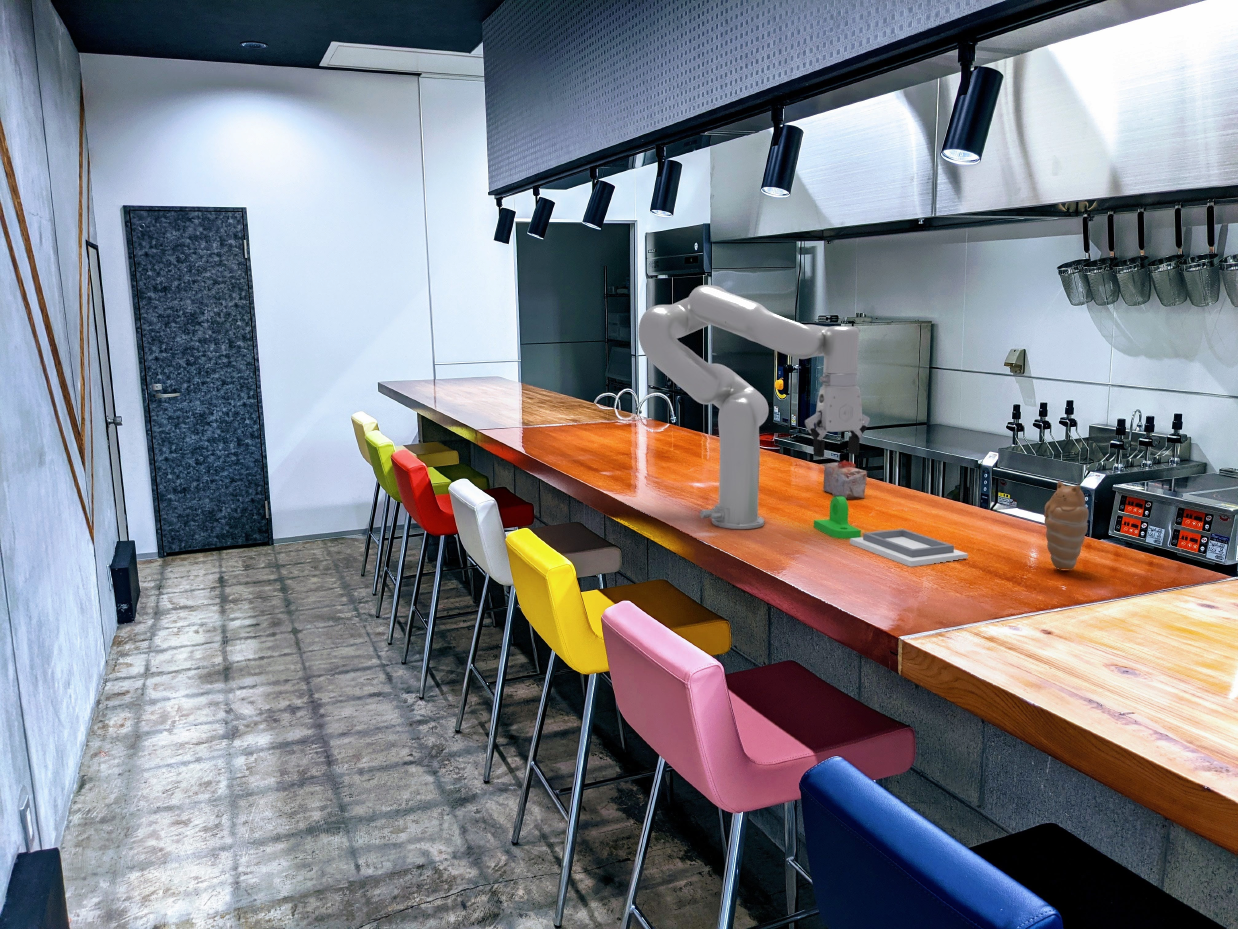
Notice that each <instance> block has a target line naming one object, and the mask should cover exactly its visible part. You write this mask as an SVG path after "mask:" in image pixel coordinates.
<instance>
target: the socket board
mask: <svg viewBox="0 0 1238 929" xmlns="http://www.w3.org/2000/svg"><path fill="white" fill-rule="evenodd" d="M849 544H850V545H852V546H854V547H858V548H860V549H863V550H866V551H867V552H870V553H873V554H876V555H878V556H881V557H883V558H885V559H889V560H891V561H894V562H897V563H899V564H902V565H905V566H907V567H910V568H912V567H919V566H920V567H921V566H925V565H926V566H928V565H933V564H934V563H936V564H941V563H940V562H943V563H947V562H946V561H951V562H954V561H953V560H958V559H963V558H968V557H969V554H968V553H966V552H963V551H961V550H959V549H958V550H957V549H955V545H954V544H952V543H951V544H950V543H948V542H944V541H941V540H938V539H935V538H933V537H930V536H926V535H923V534H920V533H917V532H914V531H912V530H908V529H906V528H899V529H898V528H897V529H891V530H890V529H889V530H888V529H887V530H876V531H872V532H864V533H863V535H862V536H861V537H859V538H850V539H849Z"/></svg>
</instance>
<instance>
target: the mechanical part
mask: <svg viewBox="0 0 1238 929" xmlns="http://www.w3.org/2000/svg"><path fill="white" fill-rule="evenodd" d="M847 500H848V499H846V498H845V497H843V496H842V497H840V496H832V498H831V500H830V502H829V517H828V518H829V519H827V518H826V519H813V528H814V529H816V530H818V531H820V532H821V533H824V534H826V535H828V536H829V537H832V538H835V539H841V540H850V538H859V537H862V530H861V529H860V528H856V527H855V526H854V525H851V524H850V523H849V503H848V501H847Z"/></svg>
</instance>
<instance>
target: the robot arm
mask: <svg viewBox="0 0 1238 929" xmlns="http://www.w3.org/2000/svg"><path fill="white" fill-rule="evenodd" d="M710 325H712V326H713V327H717V328H718V329H722V330H724V331H727V332H730V333H732V334H735V335H737V336H740V337H742V338H745V339H747V340H748V341H751V342H755V343H758V344H760V345H761V346H764V347H765V348H766V347H767V348H769V349H771V350H774V351H777V352H779V353H781V354H784V355H786V356H790V357H793V358H796V359H800V360H805V359H809V358H815V357H823V370H822V373H823V374H822V376H820V377H819V379H818V380H819V382H820V383H822V386H820V387H819V391H818V392H819V393H818V395H817V396H818V397H817V402H816V409H815V410H816V411H815V413H814V414H813V415H812V416H810V417H808V418H807V419H805V420H804V425H805V428H806V429H807V432H808V434H809V435H810V436H811V439H813V448H812V452H813V456H814V457H817V458H824V456H825V447H826V445H825V442H826V441H825V439H823V438H825V436H826V435H827V433H828V432H830V433H834V432H848V433H849V434H850V435H849V436H848V444H847V448H848V449H847V452H848V454H850V455H855V456H859V454H860V453H859V452H860V440H861V438H862V437H863V434H865V431H867V429H868V428H867V426H868V425H869V423H870V420H871V418H870V417H869V416H867V415H866V414H864V413H863V405H862V402H863V401H862V394H861V389H860V387H859V386H857V382H858V361H859V345H860V332H859V331H860V330H859V329H858V328H857V327H855V326H851V325H850V326H849V325H843V326H842V325H834V326H823V325H816V324H802V323H800V322H798V321H795V320H791V319H789V318H785V317H783V316H780V315H778V314H776V313H774V312H772V311H770V310H768V309H767V308H766V307H765V306H764V305H762V304H761V303H759V302H757V301H754V300H750V299H748V298H745V297H743V296H739V295H737V294H734V293H731V292H729V291H727V290H726V289H724V288H723V287H721V286H718V285H713V284H712V285H711V284H704V285H698V286H697V287H695V288H694V289H693V290H692V291H691V293H690V294H689V295H688V297H686V298H683V299H682V300H679V301H677V302H675V303H672V304H657V305H653V306H651V307H649V308H648V309H647V310H646V311H645V312H644V313H643V314H642V316H641V317H640V321H639V324H638V341H639V345H640V348H641V349H642V352H643V353H644V355H645V356H646V358H647V359H648V360H649V362H650V363H651V364H653V365H654V366H655V367H656V368H657V369H658V370H659V371H660V372H662V373H663V374H665V376H667V377H668V378H669V379H670V380H671V381H672V382H673V383H675V384H676V385H677V386H678V387H680V388H681V389H682V390H683V391H684V392H686V393H687V394H688V396H690V397H691V398H692V399H693V400H694V401H696V402H697V403H699V404H702V405H712V404H713V405H714V406H716V407H717V408H718V409H719V411H718V418H717V421H718V422H717V423H718V434H719V473H718V474H719V479H718V483H719V484H718V504H714V507H713V508H712V509H702V510H700V511H699V514H700V518H701V519H708V518H710V519H711V524H713V525H714V526H716V527H719V528H724V529H730V530H751V529H757V528H761V527H763V526H764V525H765V519H764V518H763V517H761V516H759V490H760V487H759V485H760V462H761V461H760V459H761V457H760V456H761V455H760V454H761V448H760V447H761V446H760V443H761V442H760V427H761V426H762V425H763V424H764V423H765V422H766V420H767V418H768V416H769V405H768V401H767V399H766V398H765V397H764V395H762V394H761V392H760V391H758V390H757V389H756V388H754V387H753V386H752V385H750V384H749V383H748V382H747V381H746V380H744V379H743V378H742V377H741V376H740V375H738V374H737V373H736V372H735V371H733V370H732V369H731V368H729V367H727V366H725V365H724V364H721V363H709V362H707V361H705V359H703V358H702V357H700V356H699V355H698V354H696V353H695V351H693V350H692V349H690V348H689V347H688V346H686V345H685V344H683V343H682V342H680V340H678V339H679V338H682V337H685V336H687V335H689V334H692V333H695V332H696V331H698V330H701V329H703V328H706V327H708V326H710Z"/></svg>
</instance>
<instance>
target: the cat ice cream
mask: <svg viewBox="0 0 1238 929" xmlns="http://www.w3.org/2000/svg"><path fill="white" fill-rule="evenodd" d="M1043 515H1044V525H1045V527H1046V532H1045V537H1046V541H1047V546H1046V547H1047V550H1048V552H1049V553H1050V554H1049V555H1050V561H1051V562H1052V565H1053V566H1054V568H1055V567H1056V569H1057V568H1059V569H1071V570H1073V569H1074V568H1075V566H1076V565H1077V561H1078V560H1077V559H1078V558H1079V556H1080V554H1081V551H1082V546H1083V544H1084V541H1085V539H1086V538H1085V535H1086V534H1087V532H1088V529H1089V528H1088V520H1089V515H1090V514H1089V509H1088V507H1087V506H1086V497H1085V494H1084V492H1083V491H1082V490H1081V485H1080V484H1078V485H1075V486H1071V485H1065V484H1064V483H1062V481H1060V480H1058V481H1057V484H1056V491H1055V492H1054V493H1053V494H1052V496H1050V499H1049V500H1047V502H1046V503H1045V505H1044V514H1043Z"/></svg>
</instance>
